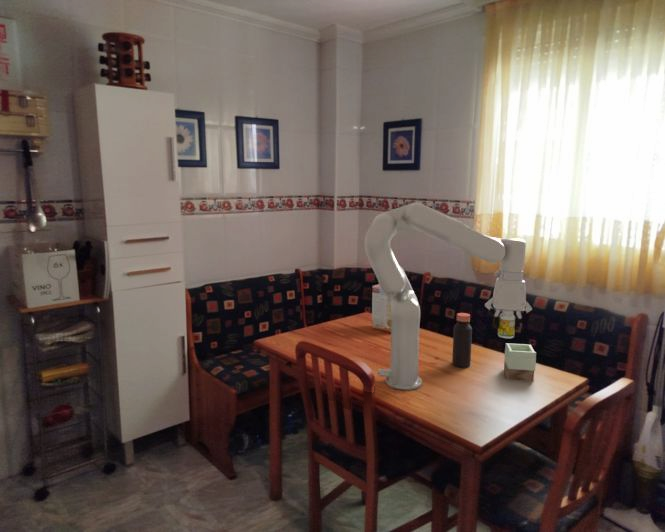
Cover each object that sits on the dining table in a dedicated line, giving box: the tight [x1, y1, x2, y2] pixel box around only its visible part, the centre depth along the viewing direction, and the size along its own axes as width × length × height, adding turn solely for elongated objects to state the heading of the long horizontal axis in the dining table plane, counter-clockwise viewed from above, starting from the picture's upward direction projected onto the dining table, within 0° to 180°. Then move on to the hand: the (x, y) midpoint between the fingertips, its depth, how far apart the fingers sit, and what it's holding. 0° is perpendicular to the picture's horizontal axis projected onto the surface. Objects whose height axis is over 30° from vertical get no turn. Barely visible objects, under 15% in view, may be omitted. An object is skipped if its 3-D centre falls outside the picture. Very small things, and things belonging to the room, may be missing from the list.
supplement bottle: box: [497, 310, 516, 339], centre depth 165 cm, size 5×5×10 cm
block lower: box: [503, 360, 535, 383], centre depth 178 cm, size 9×9×4 cm
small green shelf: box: [504, 342, 537, 372], centre depth 176 cm, size 9×9×6 cm
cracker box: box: [371, 283, 392, 333], centre depth 229 cm, size 14×6×21 cm, turn 46°
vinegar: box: [451, 312, 473, 368], centre depth 187 cm, size 7×7×20 cm
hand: (506, 327), depth 165 cm, fingers closed on supplement bottle, 5 cm apart
